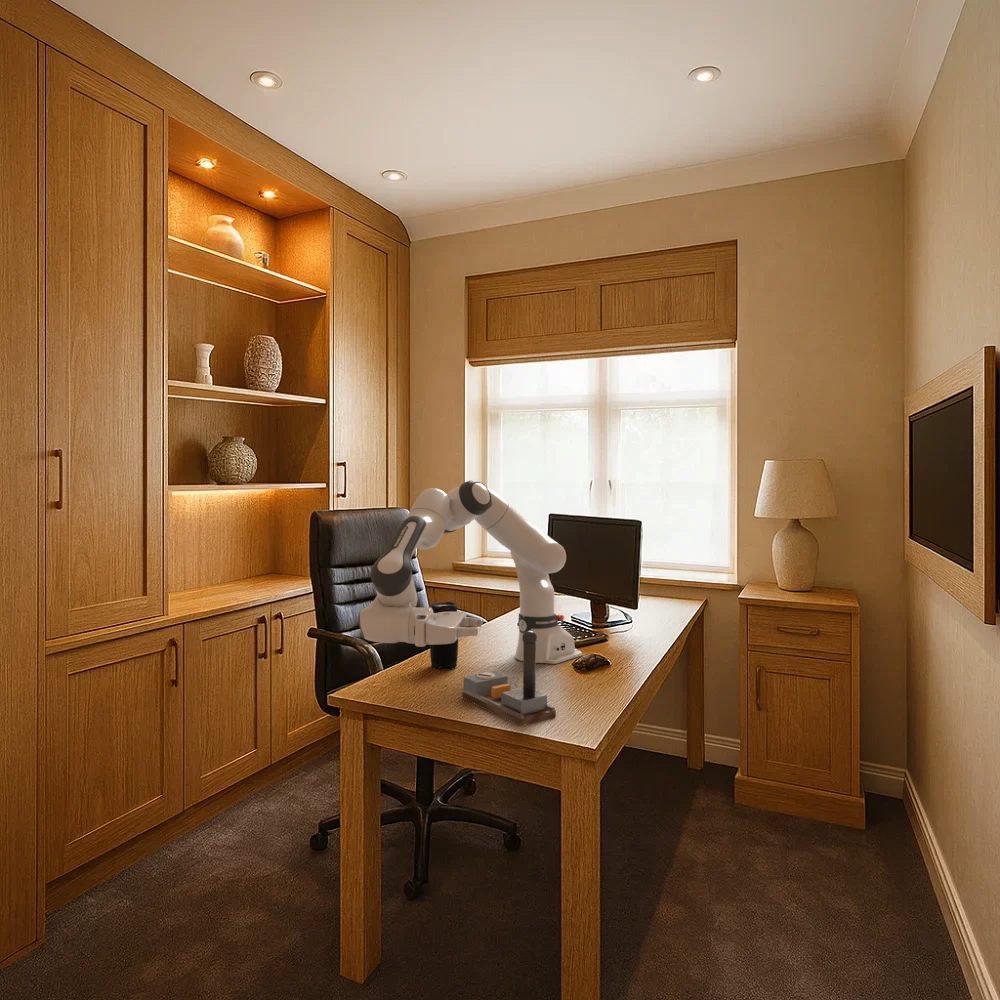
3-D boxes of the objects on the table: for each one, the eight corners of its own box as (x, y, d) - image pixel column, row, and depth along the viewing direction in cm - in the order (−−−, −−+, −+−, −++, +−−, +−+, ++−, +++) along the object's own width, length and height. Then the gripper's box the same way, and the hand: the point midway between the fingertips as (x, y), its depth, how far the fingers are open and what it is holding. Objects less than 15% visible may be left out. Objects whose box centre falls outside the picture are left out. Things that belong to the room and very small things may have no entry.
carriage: (526, 700, 176) (527, 624, 176) (547, 709, 170) (547, 630, 169) (501, 706, 172) (501, 628, 171) (521, 715, 165) (521, 634, 164)
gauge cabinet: (494, 685, 189) (494, 668, 189) (507, 690, 185) (507, 673, 184) (463, 691, 184) (463, 674, 183) (476, 697, 179) (476, 680, 179)
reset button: (507, 692, 181) (507, 683, 180) (510, 694, 179) (510, 684, 179) (491, 696, 178) (491, 686, 178) (494, 697, 176) (494, 688, 176)
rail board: (496, 690, 190) (496, 682, 190) (555, 716, 170) (555, 707, 170) (462, 697, 183) (462, 689, 183) (520, 726, 163) (520, 716, 163)
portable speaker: (453, 661, 218) (454, 600, 218) (461, 669, 210) (461, 605, 209) (426, 663, 216) (427, 601, 215) (433, 672, 207) (433, 606, 206)
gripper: (431, 629, 181) (484, 630, 180) (415, 648, 161) (474, 650, 159) (431, 604, 181) (484, 606, 180) (415, 621, 160) (475, 623, 159)
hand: (480, 627), depth 169 cm, fingers open, 8 cm apart
